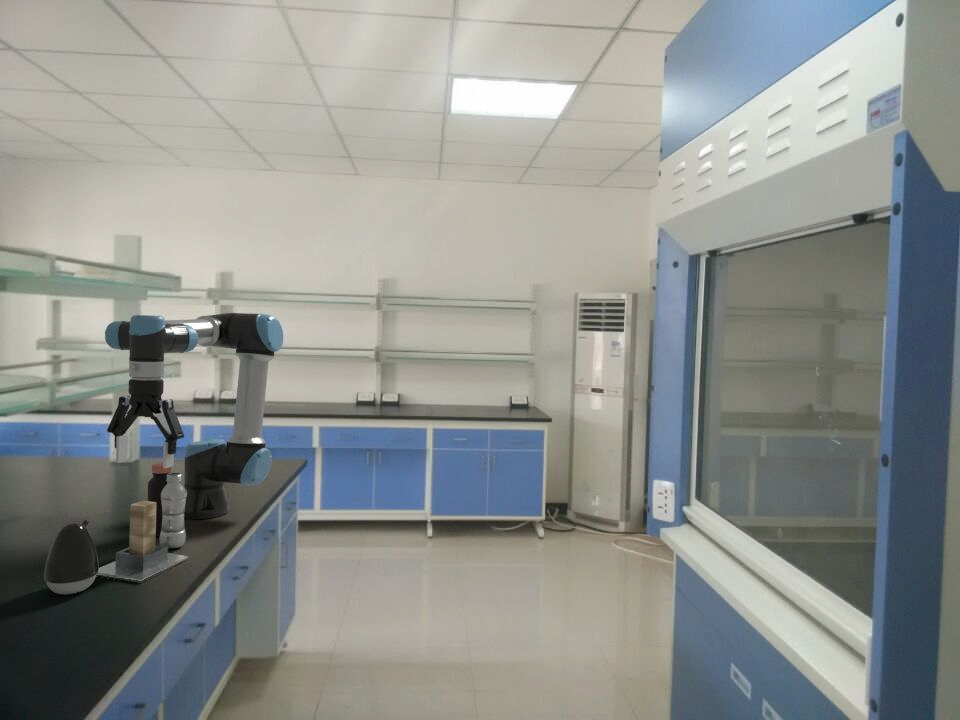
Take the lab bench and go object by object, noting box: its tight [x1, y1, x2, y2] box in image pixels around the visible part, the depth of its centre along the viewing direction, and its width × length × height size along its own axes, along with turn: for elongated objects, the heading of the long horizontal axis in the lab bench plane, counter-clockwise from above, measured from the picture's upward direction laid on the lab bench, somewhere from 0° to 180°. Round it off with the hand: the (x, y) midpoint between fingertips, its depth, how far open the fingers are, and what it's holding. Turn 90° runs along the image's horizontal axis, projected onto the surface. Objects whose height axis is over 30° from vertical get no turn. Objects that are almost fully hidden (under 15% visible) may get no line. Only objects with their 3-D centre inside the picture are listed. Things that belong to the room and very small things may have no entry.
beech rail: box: [128, 500, 156, 555], centre depth 153 cm, size 4×4×15 cm
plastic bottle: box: [159, 472, 187, 550], centre depth 167 cm, size 6×7×20 cm
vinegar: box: [147, 462, 172, 537], centre depth 177 cm, size 7×7×20 cm
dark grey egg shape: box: [43, 519, 100, 595], centre depth 139 cm, size 10×10×15 cm
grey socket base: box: [96, 543, 190, 581], centre depth 153 cm, size 16×14×4 cm
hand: (144, 464), depth 152 cm, fingers open, 13 cm apart
